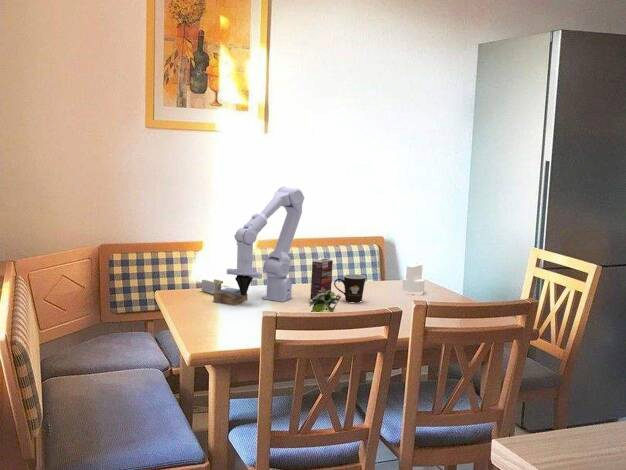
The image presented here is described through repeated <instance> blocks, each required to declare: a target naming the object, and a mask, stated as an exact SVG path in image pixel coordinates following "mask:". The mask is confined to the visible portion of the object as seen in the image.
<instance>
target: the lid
mask: <svg viewBox="0 0 626 470" xmlns="http://www.w3.org/2000/svg"><path fill="white" fill-rule="evenodd" d="M221 293H227V294H234V295H236V296H238V295H241V293H240V289H239V288H234V287H224V288H223V289H222V288H221Z"/></svg>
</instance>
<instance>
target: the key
mask: <svg viewBox="0 0 626 470" xmlns="http://www.w3.org/2000/svg"><path fill="white" fill-rule="evenodd" d="M223 283H224V281H223V280H220V279H213V281H210V280H208V279H202V280H201V292H205V293H208V294H211V295H214V292H221V290H222V284H223Z"/></svg>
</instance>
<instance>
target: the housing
mask: <svg viewBox="0 0 626 470" xmlns="http://www.w3.org/2000/svg"><path fill="white" fill-rule="evenodd" d="M248 297H249V296H248V293H247V295H244V296H243V295H238V296H236V295H234V294H227V293H221V292H214V294H213V301H212V302H213V303H216V304H224V305H228V306H237V305H238V304H241V303H244V302H246V301H248Z"/></svg>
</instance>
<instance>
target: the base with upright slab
mask: <svg viewBox="0 0 626 470" xmlns="http://www.w3.org/2000/svg"><path fill="white" fill-rule="evenodd" d="M402 279H403V280H402V289H403V290H404V291H408V292H422V291H424V292H425V278H423V263H414V264H413V263H412V264H408V265H407V266H406V275H405V277H402Z"/></svg>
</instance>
